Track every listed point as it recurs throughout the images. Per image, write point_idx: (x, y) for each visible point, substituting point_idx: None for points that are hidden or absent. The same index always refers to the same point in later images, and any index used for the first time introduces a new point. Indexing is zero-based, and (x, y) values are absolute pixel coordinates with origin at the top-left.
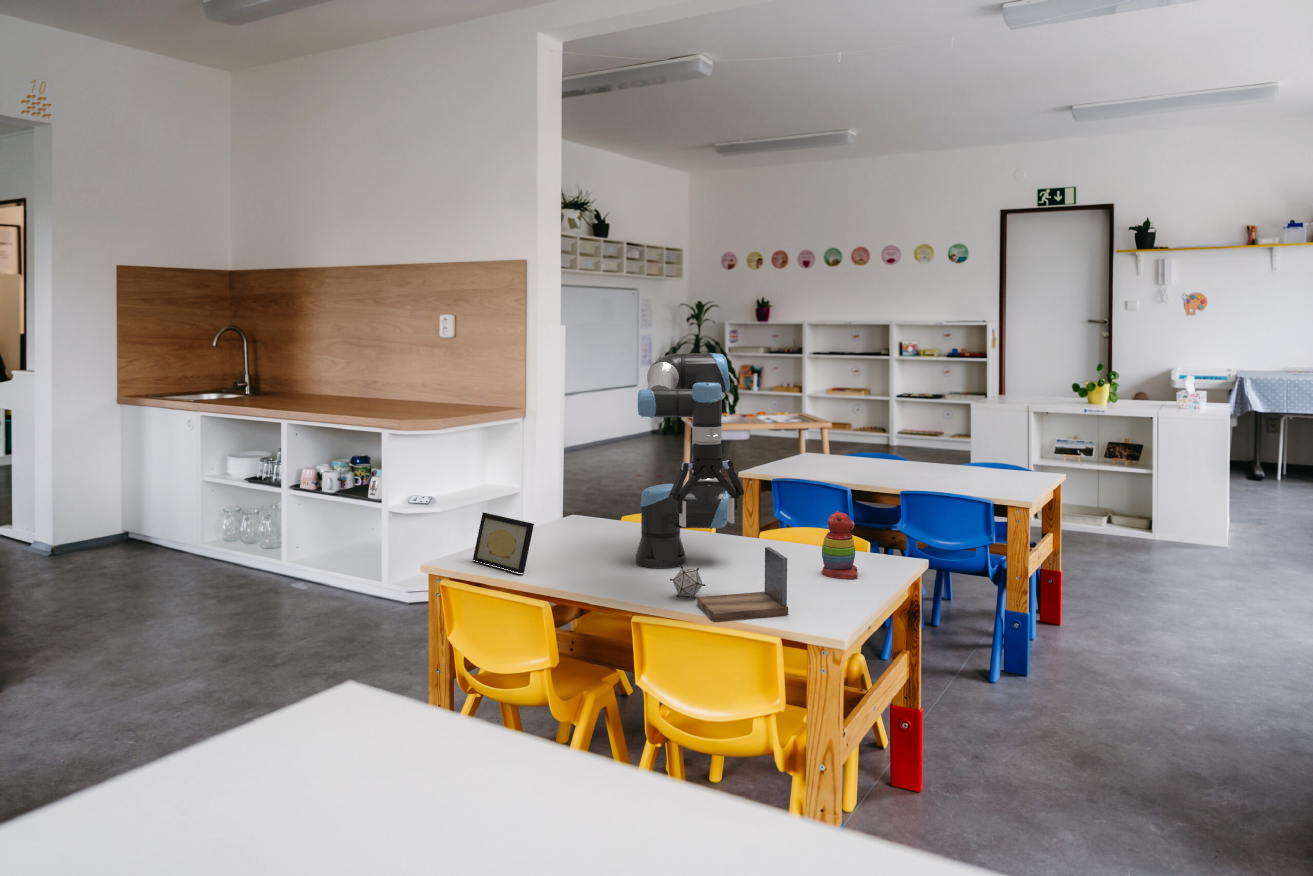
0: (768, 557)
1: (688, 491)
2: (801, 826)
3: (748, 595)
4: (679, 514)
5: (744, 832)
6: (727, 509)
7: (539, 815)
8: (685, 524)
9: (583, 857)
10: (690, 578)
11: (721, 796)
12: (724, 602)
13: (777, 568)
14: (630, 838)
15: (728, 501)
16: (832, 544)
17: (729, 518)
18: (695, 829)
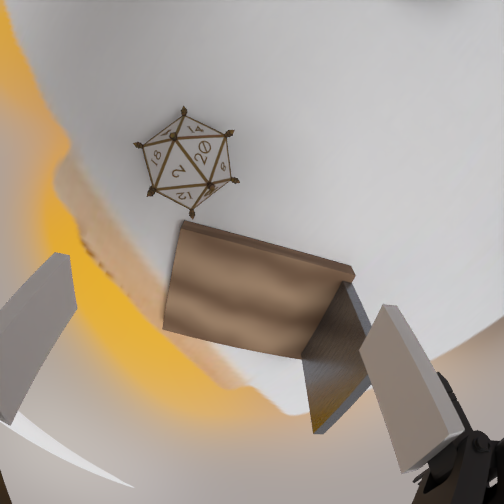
0: (355, 365)
1: (3, 496)
2: (107, 473)
3: (297, 279)
4: (18, 295)
5: (85, 465)
6: (412, 359)
7: (14, 424)
8: (69, 316)
9: (33, 442)
10: (173, 200)
11: (81, 457)
12: (216, 291)
13: (323, 392)
14: (46, 447)
15: (425, 420)
16: None
17: (378, 344)
18: (68, 457)
